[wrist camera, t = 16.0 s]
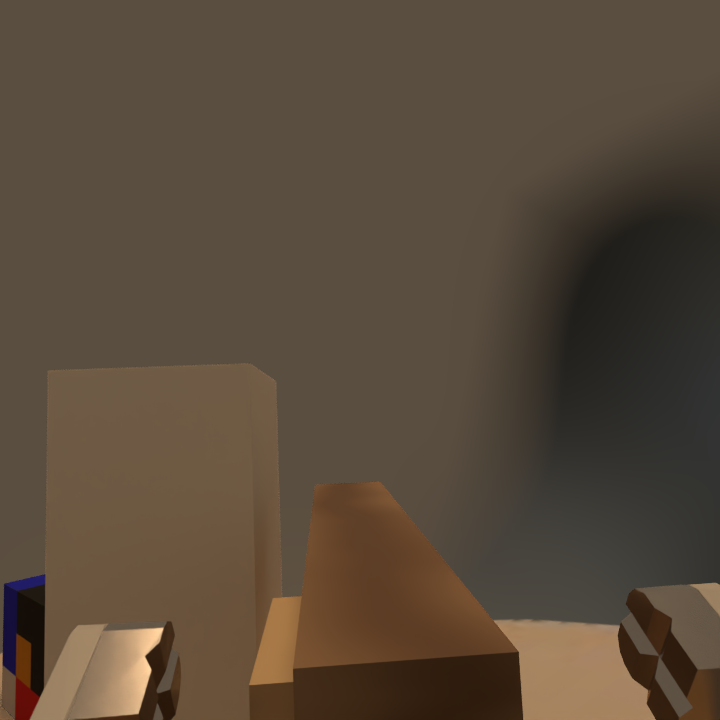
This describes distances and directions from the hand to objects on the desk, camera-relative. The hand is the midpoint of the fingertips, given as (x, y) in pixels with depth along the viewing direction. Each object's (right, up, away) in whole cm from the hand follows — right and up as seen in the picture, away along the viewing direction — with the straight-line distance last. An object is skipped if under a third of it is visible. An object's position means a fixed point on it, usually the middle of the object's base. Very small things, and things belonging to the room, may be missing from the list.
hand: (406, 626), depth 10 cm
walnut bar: (-1, -6, +11) cm, 13 cm away
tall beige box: (-11, -22, +23) cm, 34 cm away
